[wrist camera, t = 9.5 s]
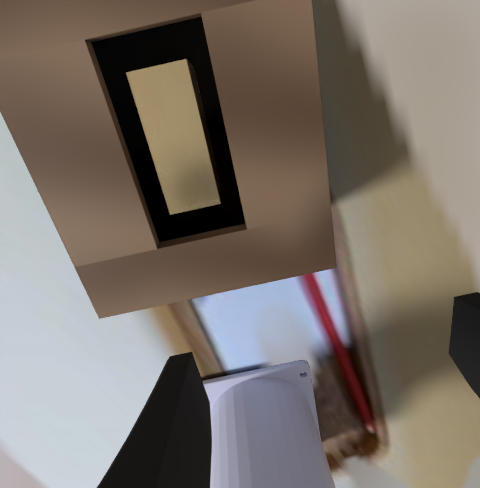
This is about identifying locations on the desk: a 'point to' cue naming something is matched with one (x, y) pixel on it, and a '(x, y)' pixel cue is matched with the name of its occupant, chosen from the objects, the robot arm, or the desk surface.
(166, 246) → the walnut coin box
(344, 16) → the desk surface
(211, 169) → the block
